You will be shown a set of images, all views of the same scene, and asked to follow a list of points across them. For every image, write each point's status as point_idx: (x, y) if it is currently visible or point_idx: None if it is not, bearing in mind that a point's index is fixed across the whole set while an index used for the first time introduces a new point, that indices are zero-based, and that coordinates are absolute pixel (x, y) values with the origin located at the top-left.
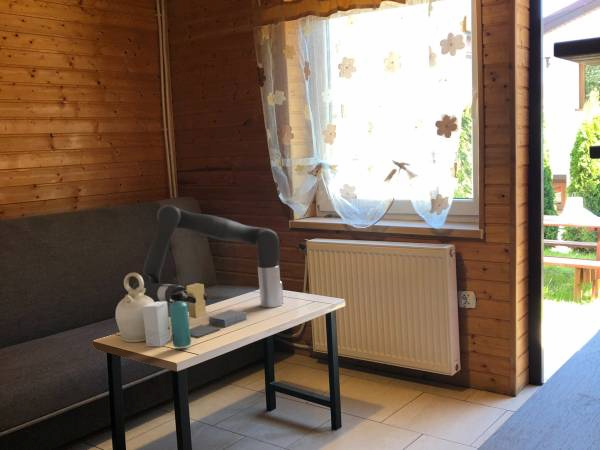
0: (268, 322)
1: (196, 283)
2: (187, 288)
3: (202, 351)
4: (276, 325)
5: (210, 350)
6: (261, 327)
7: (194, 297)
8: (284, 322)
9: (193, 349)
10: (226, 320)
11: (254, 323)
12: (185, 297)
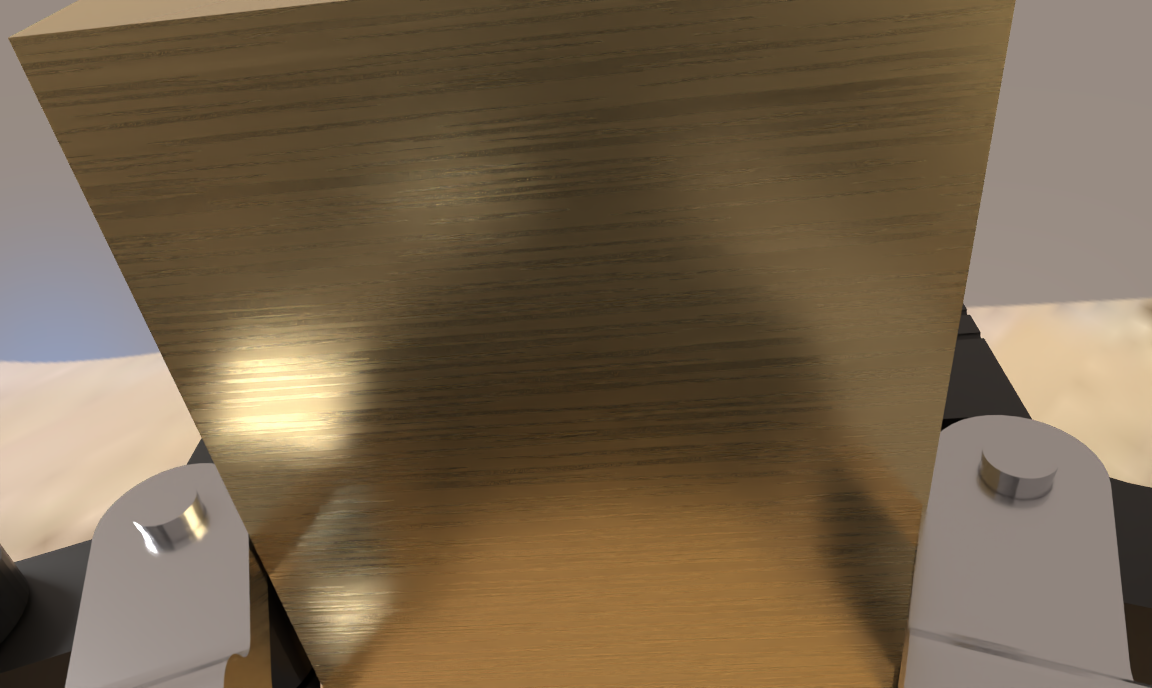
0: (21, 458)
1: (105, 12)
2: (970, 91)
3: (1081, 329)
4: (139, 357)
5: (1000, 306)
6: None
7: None
8: (35, 363)
9: (1146, 416)
10: None
11: (54, 545)
12: (1086, 482)
